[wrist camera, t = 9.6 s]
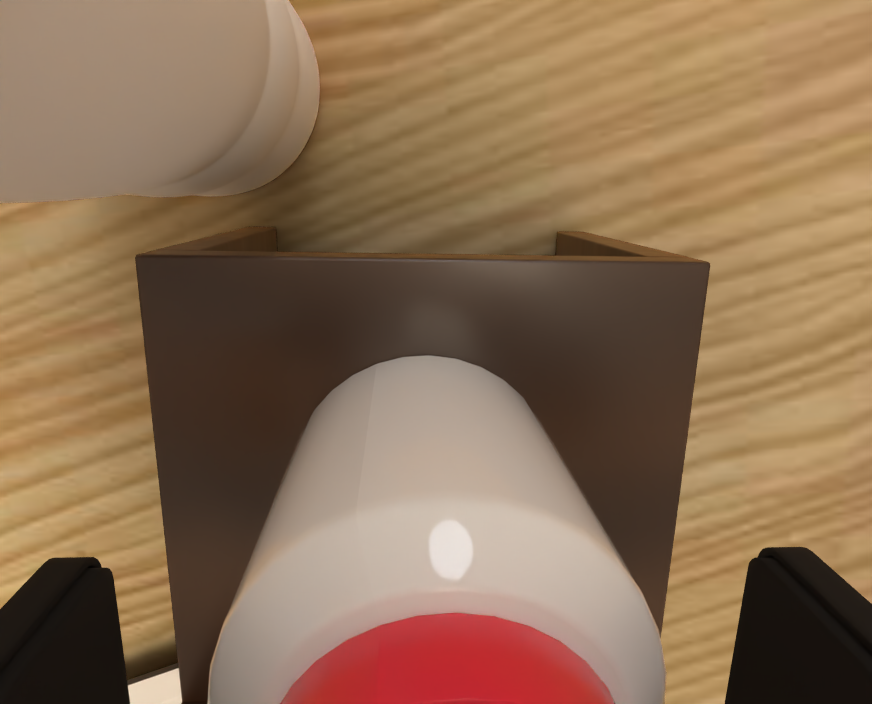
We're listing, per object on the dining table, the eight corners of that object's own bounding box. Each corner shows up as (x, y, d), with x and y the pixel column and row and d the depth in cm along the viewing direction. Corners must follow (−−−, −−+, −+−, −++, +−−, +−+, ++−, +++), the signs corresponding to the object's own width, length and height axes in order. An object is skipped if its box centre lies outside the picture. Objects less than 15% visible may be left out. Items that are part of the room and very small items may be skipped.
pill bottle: (350, 623, 15) (289, 1144, 7) (249, 408, 13) (15, 748, 5) (582, 544, 15) (804, 981, 7) (506, 316, 13) (675, 522, 5)
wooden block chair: (247, 226, 22) (-12, 290, 8) (584, 231, 22) (865, 298, 9) (265, 531, 25) (99, 947, 11) (560, 527, 25) (742, 916, 12)
